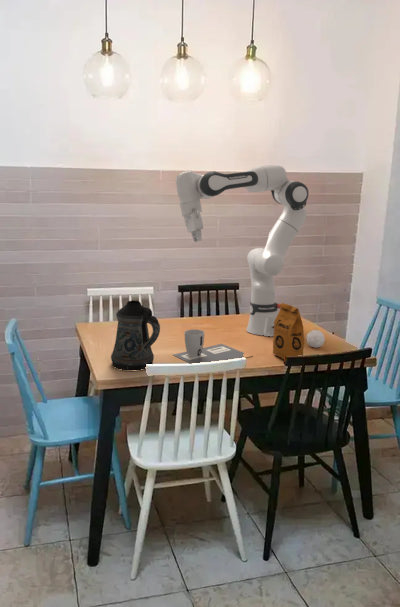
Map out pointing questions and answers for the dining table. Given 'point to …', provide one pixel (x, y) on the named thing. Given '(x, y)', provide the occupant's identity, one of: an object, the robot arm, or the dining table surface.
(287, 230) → the robot arm
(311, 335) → the geometric ball
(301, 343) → the coffee package
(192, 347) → the cup
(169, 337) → the dining table surface
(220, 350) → the label sheet
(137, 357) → the beer stein
